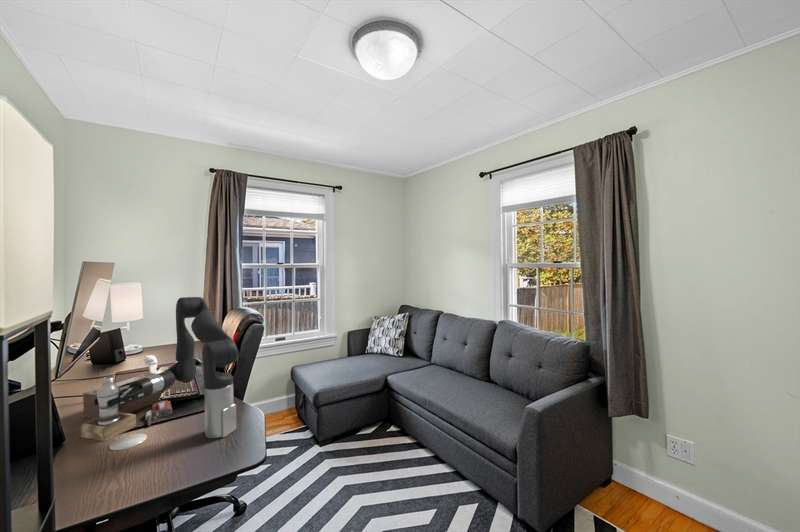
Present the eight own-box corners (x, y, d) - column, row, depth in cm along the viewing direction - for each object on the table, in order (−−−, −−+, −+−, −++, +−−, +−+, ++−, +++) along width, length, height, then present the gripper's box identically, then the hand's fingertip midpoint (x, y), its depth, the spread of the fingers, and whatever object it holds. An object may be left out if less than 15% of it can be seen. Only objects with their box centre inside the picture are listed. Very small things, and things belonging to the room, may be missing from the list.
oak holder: (136, 426, 125) (135, 414, 125) (104, 441, 115) (104, 428, 115) (113, 423, 128) (113, 411, 128) (81, 437, 118) (80, 424, 118)
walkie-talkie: (145, 411, 139) (145, 429, 123) (145, 400, 139) (145, 418, 123) (170, 405, 144) (173, 422, 129) (170, 395, 144) (173, 411, 129)
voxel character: (149, 382, 158) (143, 354, 163) (143, 392, 164) (138, 365, 169) (166, 378, 163) (160, 351, 169) (160, 388, 169) (154, 361, 175)
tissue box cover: (149, 393, 158) (148, 372, 158) (171, 396, 154) (170, 375, 154) (83, 417, 134) (83, 393, 134) (107, 422, 129) (107, 397, 129)
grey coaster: (153, 436, 117) (153, 435, 117) (124, 452, 108) (124, 451, 108) (132, 433, 120) (132, 432, 120) (101, 448, 110) (101, 447, 110)
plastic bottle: (94, 437, 117) (92, 382, 117) (102, 429, 123) (100, 376, 123) (116, 433, 120) (115, 379, 119) (123, 425, 126) (122, 373, 126)
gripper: (133, 376, 137) (86, 391, 121) (160, 378, 133) (115, 394, 117) (134, 393, 137) (86, 411, 121) (161, 396, 133) (116, 415, 117)
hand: (101, 403), depth 119 cm, fingers closed on plastic bottle, 6 cm apart
